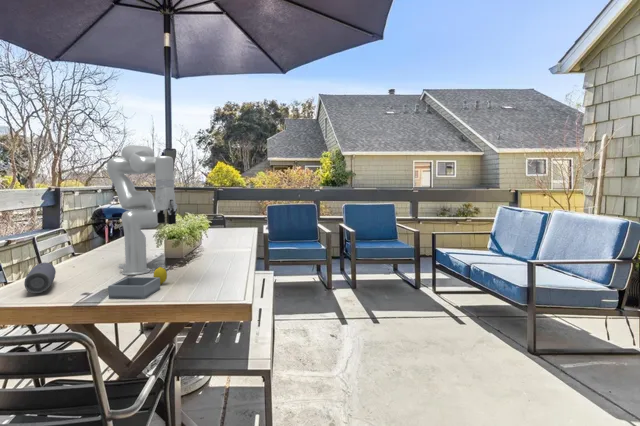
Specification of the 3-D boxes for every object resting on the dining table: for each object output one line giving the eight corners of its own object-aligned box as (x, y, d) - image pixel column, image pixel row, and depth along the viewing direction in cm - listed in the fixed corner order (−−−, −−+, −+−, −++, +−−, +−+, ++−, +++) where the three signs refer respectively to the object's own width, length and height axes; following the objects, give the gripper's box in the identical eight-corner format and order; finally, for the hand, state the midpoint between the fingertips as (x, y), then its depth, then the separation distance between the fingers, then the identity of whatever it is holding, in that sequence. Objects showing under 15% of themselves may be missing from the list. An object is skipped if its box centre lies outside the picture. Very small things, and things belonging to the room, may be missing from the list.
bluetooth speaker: (31, 284, 166) (30, 262, 166) (57, 281, 171) (56, 260, 170) (23, 298, 147) (21, 273, 146) (52, 294, 152) (50, 270, 151)
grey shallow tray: (108, 298, 146) (108, 286, 146) (127, 288, 160) (127, 277, 160) (144, 299, 146) (143, 286, 146) (160, 288, 160) (159, 277, 160)
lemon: (156, 283, 170) (155, 265, 169) (168, 282, 170) (168, 265, 169) (151, 286, 164) (151, 268, 164) (164, 286, 165) (164, 268, 164)
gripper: (147, 185, 168) (149, 223, 169) (166, 184, 157) (168, 225, 158) (163, 185, 174) (165, 222, 175) (183, 184, 162) (184, 223, 163)
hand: (166, 223), depth 166 cm, fingers open, 9 cm apart
